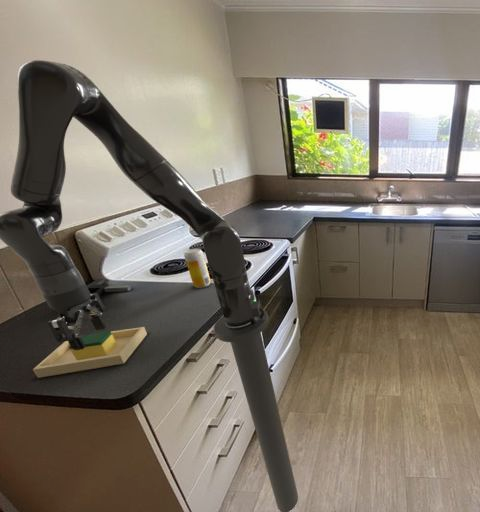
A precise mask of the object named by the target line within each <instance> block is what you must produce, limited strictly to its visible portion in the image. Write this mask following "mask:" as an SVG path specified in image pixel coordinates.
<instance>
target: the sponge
mask: <svg viewBox="0 0 480 512" xmlns="http://www.w3.org/2000/svg"><path fill="white" fill-rule="evenodd" d="M111 332H112V331H105V332H104V331H103V332H99V333H97V332H96V333H91V334H90V333H89V334H85V335H84V334H83V335H79V336H80V337H81V339H82V340H83V342H84V344H85V346H86V347H85V348H84V349H82V350H73V349H72V347H71V346H69V348H70V350H71V351H72V353H73V355H74V357H75V359H76V360H79V359H86V358H92V357H98V356H104V355H107V354H108V353H109V352H110V351H111V350H112V349H113V348H114V347H115V346H116V342H115V340H114V338H113V335H112V333H111Z"/></svg>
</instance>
